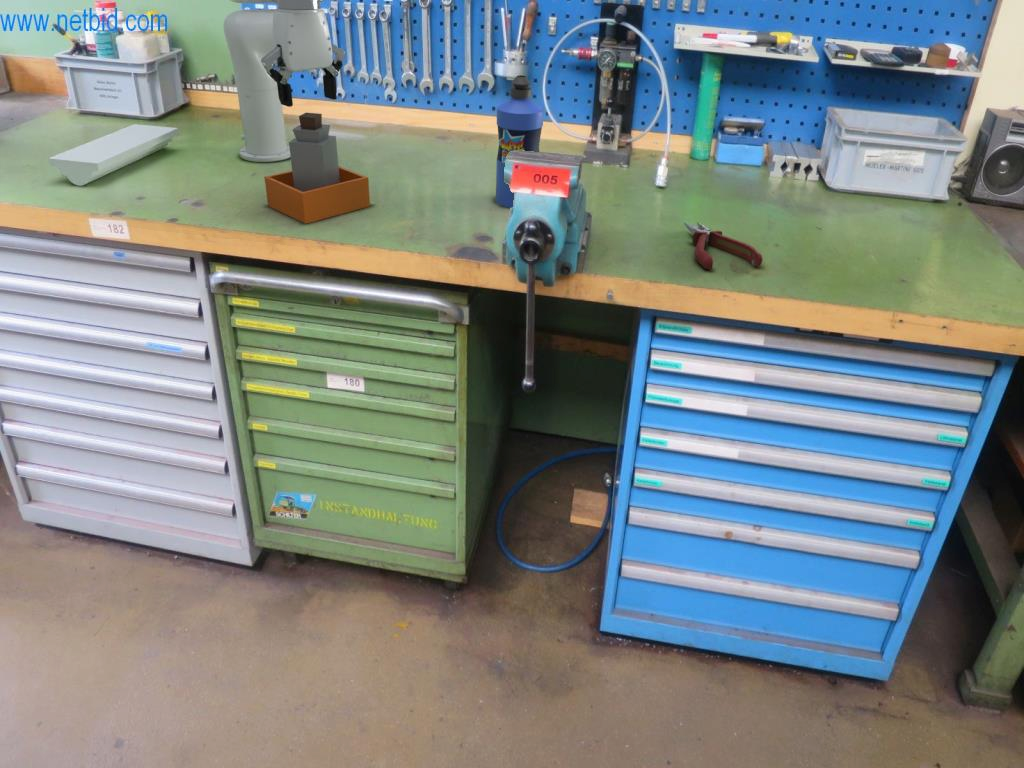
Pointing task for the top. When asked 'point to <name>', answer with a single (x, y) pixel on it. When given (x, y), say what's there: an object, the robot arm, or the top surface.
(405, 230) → the top surface
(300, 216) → the box
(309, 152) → the perfume bottle
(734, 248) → the pliers
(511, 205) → the water bottle
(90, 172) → the shelf
